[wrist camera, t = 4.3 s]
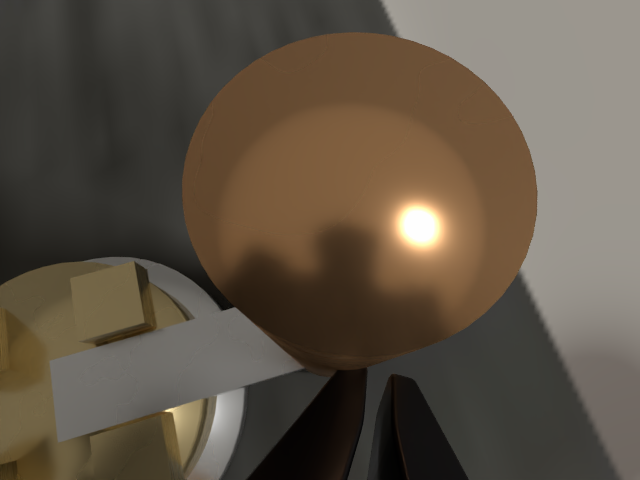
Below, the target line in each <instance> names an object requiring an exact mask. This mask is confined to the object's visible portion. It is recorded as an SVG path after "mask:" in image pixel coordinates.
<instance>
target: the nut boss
mask: <svg viewBox="0 0 640 480" xmlns="http://www.w3.org/2000/svg"><path fill="white" fill-rule="evenodd" d="M132 261H135V262H136V263H138V264H139V265H141V266H142V267H144V268H145V269H147V272H148V277H149V282H151V283H153V284H154V285H156V286H158V287H159V288H161V289H163V290H164V291H166V292H167V293H169V294H170V295H172V296H173V297H175V298H176V299H177V300H178V301H179V302H181V303H182V304H183V305H184V306H185V307H186V308H187V309H188V310H189V311H190V313H191V314H192V315H193V316H194V317H195V319H196V318H200V317H203V316H207V315H210V314H214V313H217V312H221V311H223V309H222V308H221V307H220V306H219V305H218V304H217V302H216V301H215V300H214V299H213V298H212V297H211V296H210V295H209V294H208V293H207V292H205V291H204V290H203V289H202V288H201V287H199V286H198V285H197V284H196V283H194V282H193V281H192V280H190V279H189V278H187V277H186V276H184V275H182V274H181V273H179V272H178V271H175V270H173V269H171V268H169V267H167V266H164V265H162V264H159V263H155V262H152V261H148V260H144V259H137V258H131V257H106V258H96V259H91V260H86V261H82V262H96V263H102V264H108V265H113V266H118V265H121V264H125V263H129V262H132ZM247 404H248V386H247V387H244V388H241V389H237V390H234V391H231V392H228V393H224V394H221V395H218V396H217V402H216V411H215V416H214V421H213V425H212V429H211V432H210V435H209V438H208V441H207V443H206V446H205V449H204V451H203V453H202V455H201V457H200V459H199V461H198V463H197V465H196V466H195V468H194V469H193V471H192V472H191V474H190V475H189V477H188V478H187V480H221V479H222V478H223V476H224V474H225V473H226V471H227V469H228V468H229V465H230V463H231V461H232V459H233V457H234V454H235V452H236V450H237V448H238V444H239V441H240V438H241V435H242V432H243V428H244V423H245V418H246V413H247Z"/></svg>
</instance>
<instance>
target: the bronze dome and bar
mask: <svg viewBox="0 0 640 480" xmlns="http://www.w3.org/2000/svg"><path fill="white" fill-rule="evenodd" d="M182 201H183V208H184V216H185V222H186V226H187V229H188V233H189V236H190V239H191V243H192V245H193V247H194V250H195V252H196V254H197V256H198V258H199V261H200V263H201V265H202V266H203V268H204V269H205V271H206V272H207V274H208V276H209V277H210V279H211V280H212V282H213V283H214V285H215V286H216V287H217V288H218V289H219V290H220V292H221V293H222V294H223V295H224V296H225V297H226V298H227V300H228V301H229V302H230V303H231V304H232V305H233V306H235V307H234V308H231V309H228V310H224V311H221V312H217V313H214V314H210V315H207V316H203V317H200V318H196V319H195V317H194V316H193V315H192V314H191V313H190V311H189V310H188V309H187V308H186V307H185V306H184V305H183V304H182V303H181V302H179V301H178V300H177V299H176V298H175V297H173V296H172V295H170V294H169V293H167V292H166V291H164V290H163V289H161V288H159V287H158V286H156V285H154V284H153V283H151V282H149V277H148V272H147V269H145V268H144V267H142V266H141V265H139V264H138V263H136V262H135V261H132V262H129V263H125V264H121V265H118V266H113V265H108V264H102V263H96V262H68V263H59V264H54V265H49V266H45V267H41V268H38V269H35V270H32V271H29V272H26V273H24V274H22V275H20V276H18V277H15V278H13V279H11V280H9V281H7V282H6V283H4V284H2V285H1V286H0V480H187V478H188V477H189V475H190V474H191V472H192V471H193V469H194V468H195V466H196V465H197V463H198V461H199V459H200V457H201V455H202V453H203V451H204V449H205V446H206V443H207V441H208V438H209V435H210V432H211V429H212V425H213V421H214V416H215V411H216V402H217V396H218V395H221V394H224V393H228V392H231V391H234V390H237V389H241V388H244V387H247V386H251V385H254V384H257V383H260V382H264V381H267V380H270V379H274V378H277V377H280V376H283V375H287V374H290V373H293V372H297V371H300V370H303V369H306V370H307V371H309V372H311V373H313V374H316V375H319V376H324V377H332V376H333V375H334V373H335V372H336V371H337V370H355V369H361V368H365V367H369V366H372V365H375V364H378V363H381V362H384V361H386V360H389V359H392V358H395V357H398V356H401V355H404V354H407V353H410V352H413V351H415V350H418V349H421V348H424V347H426V346H429V345H432V344H434V343H437V342H439V341H442V340H444V339H446V338H448V337H450V336H452V335H453V334H455V333H457V332H459V331H461V330H462V329H464V328H466V327H467V326H469V325H470V324H471V323H473V322H474V321H475V320H476V319H478V318H479V317H480V316H482V315H483V314H484V313H486V312H487V310H488V309H489V308H490V307H491V306H492V305H493V304H494V303H495V302H496V301H497V300H498V299H499V298H500V297H501V296H502V295H503V294H504V292H505V291H506V289H507V288H508V287H509V285H510V284H511V282H512V281H513V280H514V278H515V277H516V275H517V273H518V271H519V269H520V267H521V265H522V263H523V261H524V259H525V257H526V255H527V252H528V249H529V246H530V243H531V240H532V237H533V233H534V227H535V221H536V216H537V185H536V176H535V170H534V166H533V162H532V158H531V154H530V151H529V148H528V146H527V143H526V141H525V139H524V136H523V134H522V131H521V130H520V128H519V126H518V124H517V123H516V121H515V119H514V118H513V116H512V114H511V113H510V111H509V110H508V109H507V107H506V106H505V105H504V104H503V102H502V101H501V99H500V98H499V97H498V96H497V95H496V94H495V92H494V91H493V90H492V89H491V88H490V87H489V86H488V85H487V84H486V83H485V82H484V81H483V80H481V79H480V78H479V77H478V76H476V75H475V74H474V73H473V72H472V71H470V70H469V69H468V68H466V67H465V66H463V65H462V64H460V63H459V62H457V61H455V60H454V59H452V58H451V57H449V56H447V55H445V54H443V53H441V52H439V51H437V50H435V49H433V48H430V47H427V46H425V45H422V44H419V43H417V42H414V41H410V40H406V39H403V38H398V37H394V36H389V35H382V34H375V33H354V32H350V33H336V34H327V35H322V36H316V37H311V38H307V39H304V40H301V41H297V42H294V43H291V44H288V45H286V46H284V47H281V48H279V49H277V50H274V51H272V52H270V53H268V54H267V55H265V56H263V57H261V58H260V59H258V60H256V61H254V62H253V63H252V64H250V65H249V66H248V67H246V68H245V69H243V70H242V71H241V72H239V73H238V74H237V75H236V76H235V77H234V78H233V79H232V80H231V81H230V82H229V83H227V84H226V85H225V86H224V87H223V88H222V90H221V91H220V92H219V93H218V94H217V96H216V97H215V98H214V99H213V101H212V102H211V103H210V105H209V106H208V108H207V109H206V111H205V113H204V114H203V116H202V117H201V119H200V121H199V123H198V125H197V127H196V130H195V132H194V134H193V136H192V138H191V142H190V145H189V148H188V152H187V155H186V159H185V165H184V172H183V179H182Z"/></svg>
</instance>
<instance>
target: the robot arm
mask: <svg viewBox="0 0 640 480" xmlns="http://www.w3.org/2000/svg"><path fill="white" fill-rule="evenodd" d="M367 373H368V370H367V367H365V368H361V369H355V370H337V371H336V372H335V373H334V375H333V376H332V377H331V378H330V379H329V381H328V382H327V383H326V384H325V385H324V386H323V388H322V389H321V390H320V391H319V392H318V394H317V395H316V396H315V397H314V398H313V400H312V401H311V402H310V403H309V404H308V406H307V407H306V408H305V409H304V410H303V412H302V413H301V414H300V415H299V416H298V418H297V419H296V420H295V421H294V422H293V423H292V425H291V426H290V427H289V428H288V429H287V431H286V432H285V433H284V434H283V435H282V437H281V438H280V439H279V440H278V441H277V443H276V444H275V445H274V446H273V447H272V449H271V450H270V451H269V452H268V453H267V454H266V456H265V457H264V458H263V459H262V460H261V462H260V463H259V464H258V465H257V466H256V468H255V469H254V470H253V471H252V472H251V474H250V475H249V476H248V477H247V478H246V480H347V478H348V475H349V472H350V468H351V465H352V461H353V458H354V455H355V451H356V448H357V444H358V441H359V437H360V434H361V430H362V426H363V421H364V412H365V399H366V386H367ZM367 480H469V479H468V477H467V475H466V473H465V472H464V470H463V468H462V466H461V464H460V462H459V460H458V459H457V457H456V455H455V453H454V451H453V449H452V448H451V446H450V444H449V442H448V440H447V438H446V437H445V435H444V433H443V431H442V429H441V427H440V425H439V424H438V422H437V420H436V418H435V416H434V414H433V413H432V411H431V409H430V407H429V405H428V403H427V401H426V400H425V398H424V396H423V394H422V392H421V390H420V389H419V387H418V385H417V383H416V382H415V381H414V380H413V379H412V378H408V377H405V376H401V375H397V374H392V375H391V376H390V377H389V379H388V382H387V385H386V387H385V390H384V393H383V396H382V399H381V402H380V405H379V408H378V412H377V417H376V423H375V430H374V437H373V443H372V450H371V457H370V464H369V470H368V477H367Z"/></svg>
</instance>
